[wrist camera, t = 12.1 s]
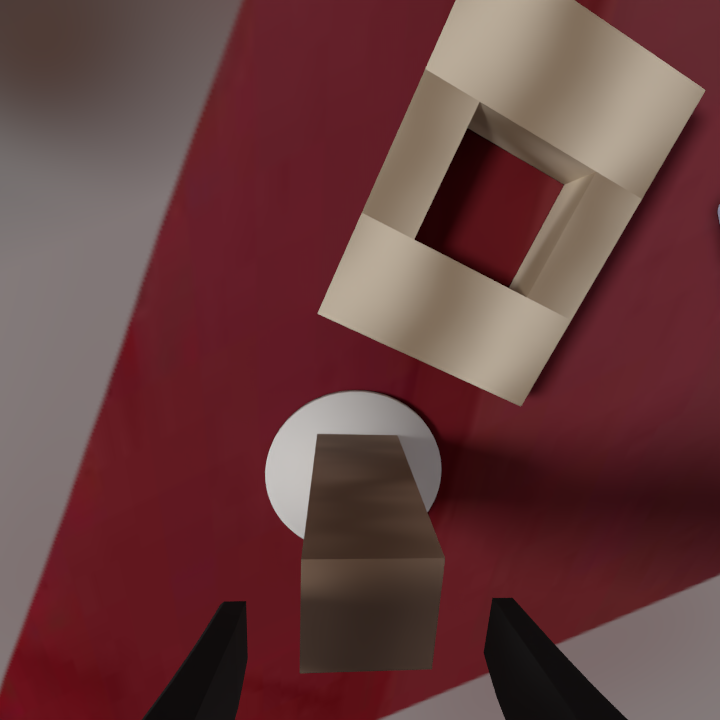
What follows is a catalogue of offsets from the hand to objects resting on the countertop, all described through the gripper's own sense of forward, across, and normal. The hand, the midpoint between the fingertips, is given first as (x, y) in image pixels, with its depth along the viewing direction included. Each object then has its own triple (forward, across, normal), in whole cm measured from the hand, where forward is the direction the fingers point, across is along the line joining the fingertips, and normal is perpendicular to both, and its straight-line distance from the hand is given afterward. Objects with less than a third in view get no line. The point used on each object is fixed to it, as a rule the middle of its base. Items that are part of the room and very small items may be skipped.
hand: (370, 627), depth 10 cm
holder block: (+8, -5, -13) cm, 16 cm away
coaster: (+8, 0, 0) cm, 9 cm away
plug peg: (+8, 0, 0) cm, 8 cm away
